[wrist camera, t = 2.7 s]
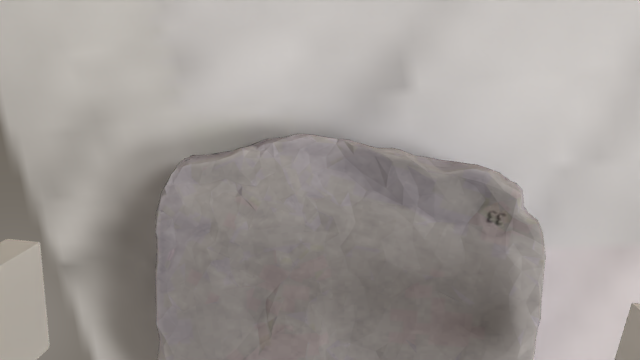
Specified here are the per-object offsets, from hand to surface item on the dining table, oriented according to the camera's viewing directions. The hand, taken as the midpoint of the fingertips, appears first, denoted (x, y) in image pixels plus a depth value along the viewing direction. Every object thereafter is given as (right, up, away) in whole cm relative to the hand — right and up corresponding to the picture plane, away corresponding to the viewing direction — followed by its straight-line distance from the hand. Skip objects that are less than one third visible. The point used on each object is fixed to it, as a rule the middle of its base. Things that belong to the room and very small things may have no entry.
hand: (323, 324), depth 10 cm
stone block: (+1, 0, +6) cm, 6 cm away
